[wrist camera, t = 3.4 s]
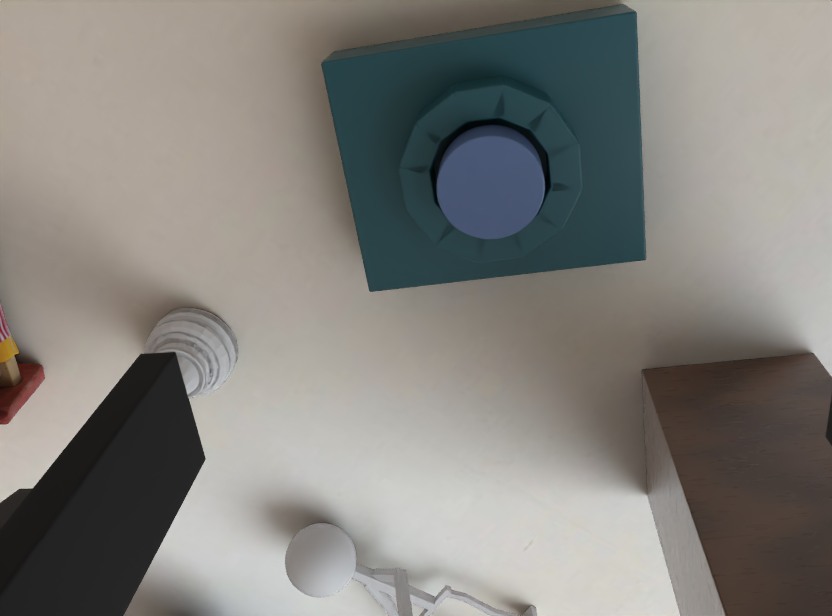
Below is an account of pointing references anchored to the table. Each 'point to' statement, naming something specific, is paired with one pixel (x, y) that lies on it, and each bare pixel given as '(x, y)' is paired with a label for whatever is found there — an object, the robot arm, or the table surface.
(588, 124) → the push button block
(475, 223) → the blue push button
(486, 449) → the table surface
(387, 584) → the figurine
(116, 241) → the table surface
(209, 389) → the chess piece
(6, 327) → the dollhouse furniture set
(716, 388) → the pedestal
